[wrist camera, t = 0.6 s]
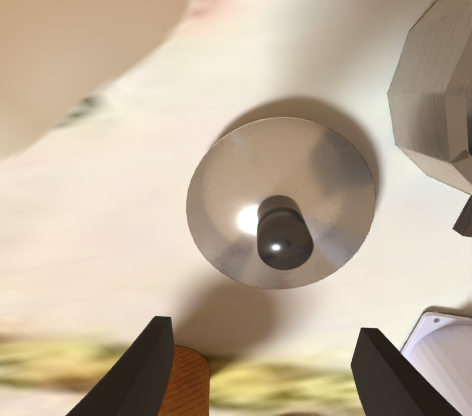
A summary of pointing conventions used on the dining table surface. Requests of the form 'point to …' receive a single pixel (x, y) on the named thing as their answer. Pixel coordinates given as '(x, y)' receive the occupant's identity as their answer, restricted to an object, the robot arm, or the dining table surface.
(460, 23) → the pot
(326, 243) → the lid
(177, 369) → the disposable coffee cup
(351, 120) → the dining table surface
